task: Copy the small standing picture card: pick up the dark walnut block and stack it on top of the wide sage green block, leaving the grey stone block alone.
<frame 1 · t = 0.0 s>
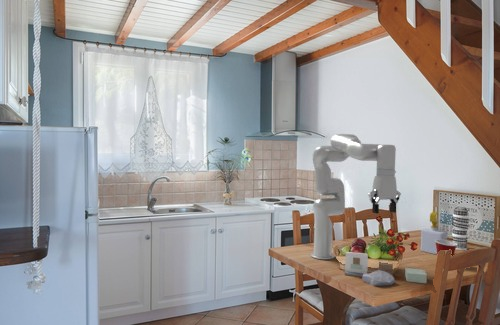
hand: (384, 212, 171), 31 cm above the table, tool pointing down, fingers open, 9 cm apart
picture card: (356, 274, 184), on the table
plastic cup: (445, 264, 203), on the table
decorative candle: (458, 248, 238), on the table
walnut block: (385, 275, 183), on the table
sage block: (415, 280, 178), on the table
stone block: (379, 283, 173), on the table
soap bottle: (433, 252, 227), on the table
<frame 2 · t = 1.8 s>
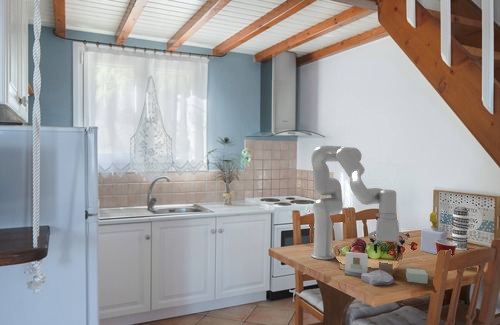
hand: (387, 253, 182), 11 cm above the table, tool pointing down, fingers open, 9 cm apart
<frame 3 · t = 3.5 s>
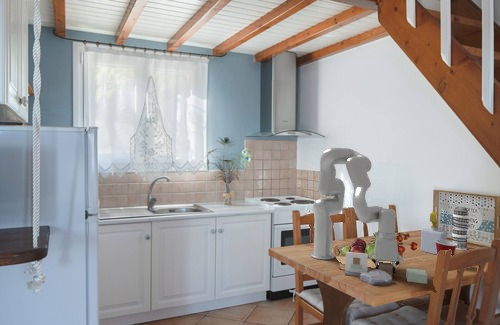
hand: (385, 273, 183), 1 cm above the table, tool pointing down, fingers closed on walnut block, 6 cm apart
walnut block: (385, 275, 183), on the table, touching gripper
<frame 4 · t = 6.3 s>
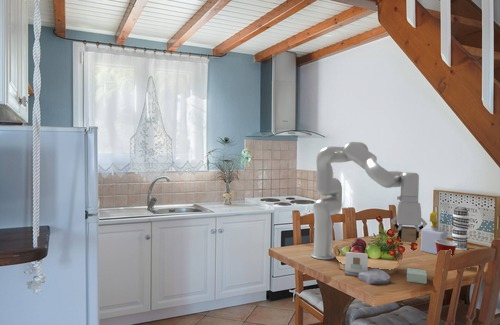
hand: (408, 238, 179), 18 cm above the table, tool pointing down, fingers closed on walnut block, 6 cm apart
walnut block: (408, 240, 179), point 17 cm above the table, touching gripper
stone block: (375, 281, 175), on the table
everything else where it was.
when the fingers open (6 cm above the table, at t = 9.0 s): walnut block drops 1 cm, point 4 cm above the table.
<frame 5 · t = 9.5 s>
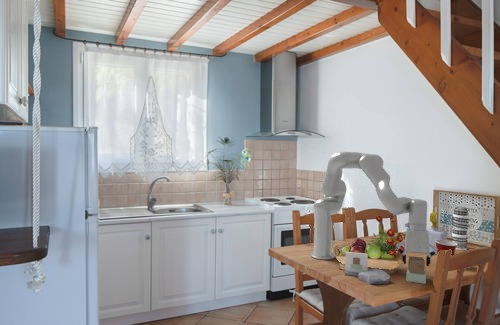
hand: (415, 264, 178), 7 cm above the table, tool pointing down, fingers open, 9 cm apart
walnut block: (416, 271, 178), point 4 cm above the table
everything else where it was.
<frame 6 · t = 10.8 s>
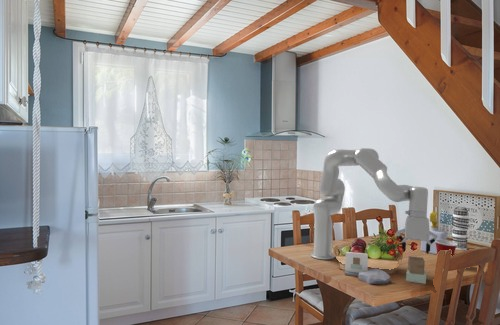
hand: (415, 251, 178), 13 cm above the table, tool pointing down, fingers open, 9 cm apart
walnut block: (415, 271, 178), point 4 cm above the table, touching sage block
sage block: (416, 280, 178), on the table, touching walnut block
everything else where it was.
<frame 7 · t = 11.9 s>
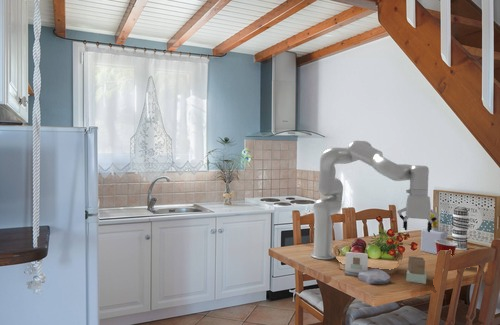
hand: (417, 230, 178), 22 cm above the table, tool pointing down, fingers open, 9 cm apart
nothing on the table moved.
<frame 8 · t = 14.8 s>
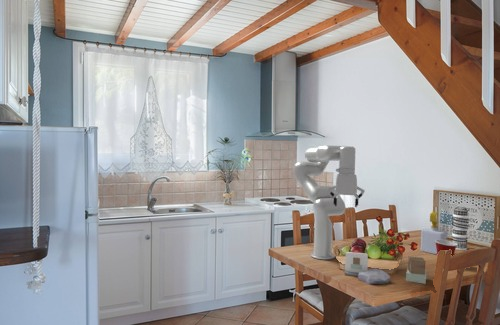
hand: (345, 206, 193), 30 cm above the table, tool pointing down, fingers open, 9 cm apart
walnut block: (416, 271, 178), point 4 cm above the table
sage block: (416, 280, 178), on the table
everything else where it was.
at the end: walnut block 0.2 cm off-centre on the sage block, point 4.0 cm above the sage block's base; walnut block tilted 0°; sage block moved 0.7 cm from its start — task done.
